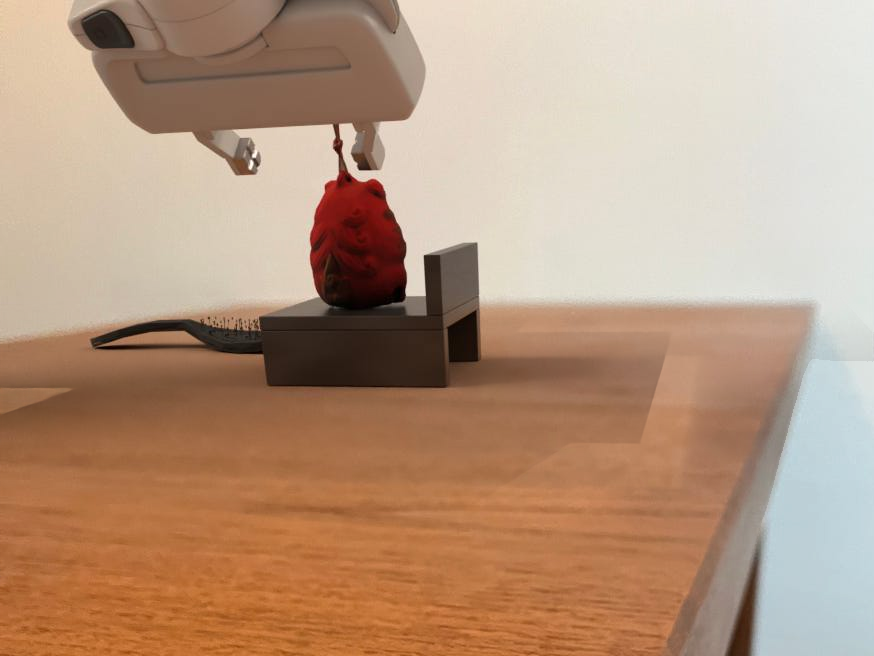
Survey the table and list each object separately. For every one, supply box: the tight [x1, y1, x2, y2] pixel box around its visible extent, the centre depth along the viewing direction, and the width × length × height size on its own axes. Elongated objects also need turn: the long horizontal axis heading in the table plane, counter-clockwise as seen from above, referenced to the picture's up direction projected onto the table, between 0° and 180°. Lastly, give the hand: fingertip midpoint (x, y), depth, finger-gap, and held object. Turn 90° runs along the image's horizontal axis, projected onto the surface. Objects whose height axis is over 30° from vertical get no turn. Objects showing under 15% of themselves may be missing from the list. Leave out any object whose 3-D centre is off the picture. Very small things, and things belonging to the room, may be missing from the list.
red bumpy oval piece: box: [309, 124, 408, 308], centre depth 74 cm, size 8×7×15 cm
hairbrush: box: [89, 316, 263, 354], centre depth 93 cm, size 8×4×25 cm
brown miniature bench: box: [258, 241, 482, 388], centre depth 77 cm, size 14×12×9 cm
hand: (310, 165), depth 68 cm, fingers open, 8 cm apart
